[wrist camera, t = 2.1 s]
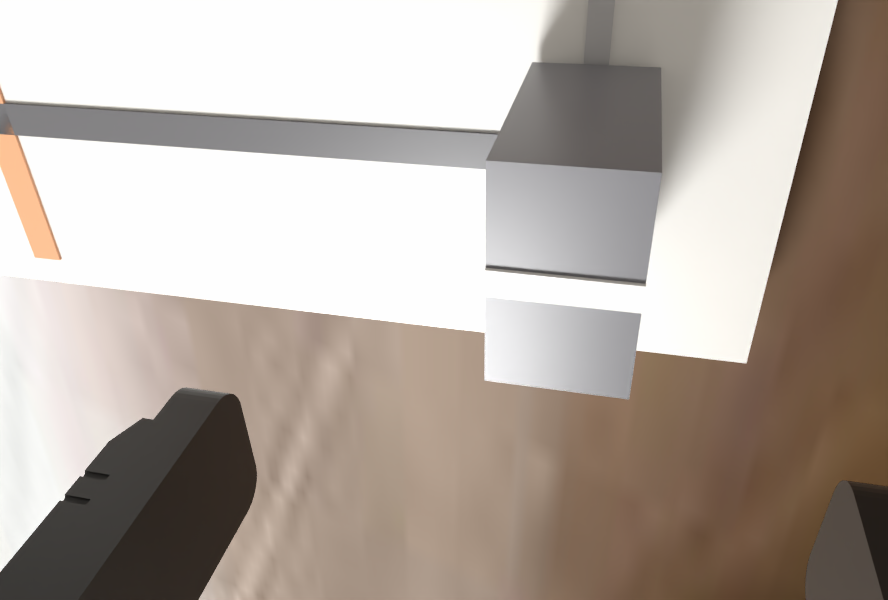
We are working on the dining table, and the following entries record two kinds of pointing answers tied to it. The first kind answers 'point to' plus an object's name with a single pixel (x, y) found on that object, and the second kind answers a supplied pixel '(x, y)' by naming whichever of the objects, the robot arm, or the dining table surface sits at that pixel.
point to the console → (381, 148)
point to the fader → (572, 227)
